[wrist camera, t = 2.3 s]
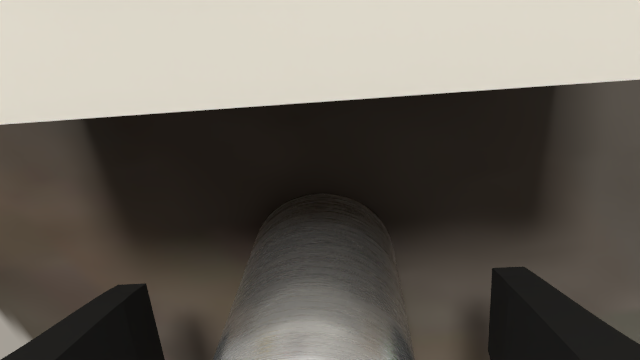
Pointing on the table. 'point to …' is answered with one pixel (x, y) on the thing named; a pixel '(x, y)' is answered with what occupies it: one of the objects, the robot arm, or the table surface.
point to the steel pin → (319, 288)
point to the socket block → (296, 51)
